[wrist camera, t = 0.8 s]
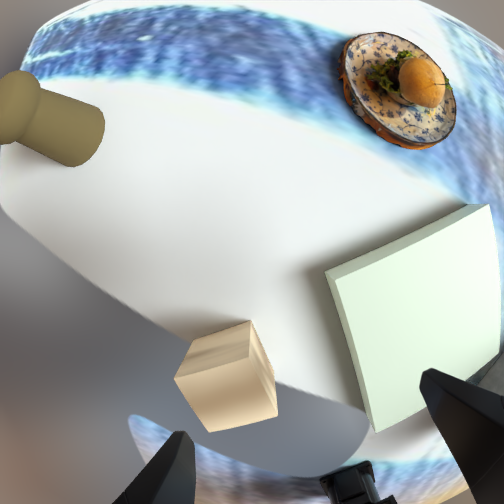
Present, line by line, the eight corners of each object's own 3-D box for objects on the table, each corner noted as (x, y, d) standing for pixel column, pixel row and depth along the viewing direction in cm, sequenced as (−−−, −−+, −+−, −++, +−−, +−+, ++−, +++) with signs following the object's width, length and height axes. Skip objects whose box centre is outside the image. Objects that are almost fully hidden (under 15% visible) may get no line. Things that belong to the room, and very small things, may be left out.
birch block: (273, 370, 21) (278, 415, 15) (219, 386, 21) (208, 432, 15) (250, 319, 21) (248, 357, 15) (193, 339, 21) (173, 378, 15)
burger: (450, 80, 18) (491, 53, 10) (438, 174, 19) (495, 162, 12) (349, 23, 17) (372, -24, 10) (319, 110, 19) (346, 63, 11)
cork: (117, 121, 19) (33, 70, 8) (78, 179, 19) (-18, 164, 9) (82, 95, 18) (8, 50, 8) (47, 148, 19) (-35, 126, 8)
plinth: (483, 343, 21) (498, 352, 18) (366, 415, 22) (375, 433, 19) (468, 204, 19) (488, 203, 16) (324, 271, 20) (334, 280, 17)
